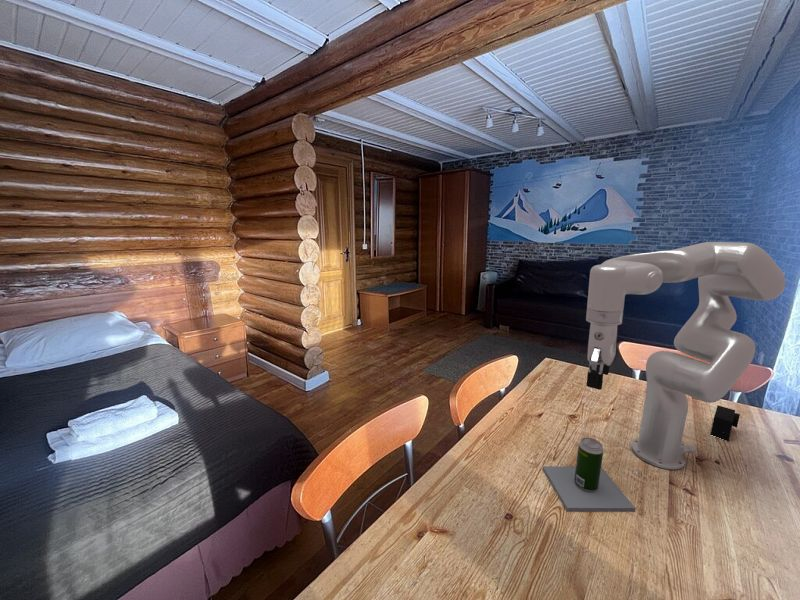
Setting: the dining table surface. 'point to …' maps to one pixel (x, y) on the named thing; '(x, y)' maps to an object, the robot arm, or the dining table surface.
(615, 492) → the mat
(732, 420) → the digital camera
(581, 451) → the beer can
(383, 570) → the dining table surface
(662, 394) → the robot arm
